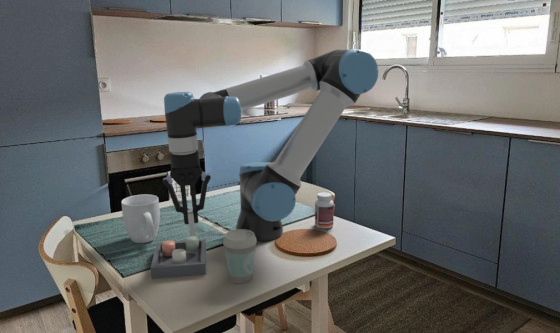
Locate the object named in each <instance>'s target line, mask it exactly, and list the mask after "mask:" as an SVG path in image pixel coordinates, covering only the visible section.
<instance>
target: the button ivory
mask: <svg viewBox="0 0 560 333" xmlns="http://www.w3.org/2000/svg"><path fill="white" fill-rule="evenodd" d="M172 259H173V264H182V263H186V251H185V250H184V249H176V250H174V251H172Z"/></svg>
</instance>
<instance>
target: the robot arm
mask: <svg viewBox="0 0 560 333" xmlns="http://www.w3.org/2000/svg"><path fill="white" fill-rule="evenodd" d="M376 60H377V59H375V58H374V56H373V55H372V54H371V53H369V52H368V51H366V50H364V49H360V48H352V49H335V50H332V51H328V52H326V53H323V54H321V55H318V56H316V57H313V58H310V59H307V60H305V61H304V62H303V64H302V65H299V66H297V67H292V68H289V69H287V70H283V71H279V72H276V73H273V74H270V75H266V76H263V77H260V78H257V79H253V80H250V81H245V82H243V83H239V84H237V85H233V86H230V87H226V88H224V89H219V90H216V91H208V92H206V93H203V94H202V95H201V96H200V97H199V98H195V97H194V94H193V93H192V92H190V91H177V92H170V93H169V92H168V93H167V94H165V96H164V97H163V102H164V103H163V104H164V117H165V125H166V126H165V127H166V132H167V142H168V151H169V152H170V153H169V158H170V160H169V161H170V168H171V169H170V172H169V175H168V176H166V177H163V178H162V184H163V185H164V186H165V187H166V189H167V190H168V191H167V192H168V193H169V197H170V199H171V201H172V204H173V206H174V209H175V212H176V213H181V214H183V222H184V225H188V229H189V237H190V236H196V227H195V226H196V224H198V223H199V214H198V213H199V211H202V210H204V208H205V201H206V196H207V190H208V184H209V182H210V181H211V178H212V177H211V174H210V173H206V172H205V171H203V169H202V167H201V163H200V153H199V151H198V149H199V143H198V142H199V141H198V133H197V129H199V128H201V129H202V128H210V127H211V128H212V127H222V126H232V125H233V126H234V125H238V124H239V123H240V122H241V120H242V111H245V110H247V109H251V108H254V107H258V106H261V105H263V104H267V103H270V102H273V101H278V100H280V99H284V98H287V97H290V96H293V95H296V94H300V93H302V92H303V93H304V92H306V91H312V92H317V91H319V92H318V94H317V96H316V97H315V98H314V100H313V102H312V103H311V105H310V106H309V108H308V109H307V111H306V113H305V114H304V115H303V117H302V119H301V120H300V122H299V124H298V125H297V127H296V128H295V130H293V132H292V134H291V136H290V138H288V141H287V142H286V143H285V145H284V146H283V148H282V150H281V151H280V153H279V155H278V156H277V157H276V159H275V161H272V162H269V161H263V162H262V161H258V162H257V161H256V162H247V163H243V164H241V165H240V167H239V173H238V176H239V193H240V195H239V196H240V199H239V200H240V212H239V215H238V219H237V221H236V225H235V230H236V229H246V230H250V231H252V232H254V234H255V237H256V240H257V242H266V241H272V240H275V239H278V238H279V237H281V236H282V235H283V234H284V230H283V229H284V225H283V222H282V220H283V219H286V218H287V217H289V216H291V214H292V212H293V211H294V209H295V206H296V203H297V201H296V200H297V199H296V194H297V193H298V192H299V190H300V189H301V187H302V182H301V177H302V175H303V174H304V173H305V171H306V169H307V168H308V166H309V165H310V163H311V162H312V160H313V159H314V157H315V156H316V154H317V153H318V152H319V149H320V148H321V146H322V145H323V143H324V141H325V140H326V139H327V137H328V136H329V134H330V133H331V131H332V130H333V128H334V127H335V125H336V123H337V122H338V120H339V119H340V117H341V116H342V115H343V112H344V111H345V110H346V108H347V107H351V106H355V104H356V103H357V101H358V100H359V98H360V97H361V95H362V94H363V95H364V94H365V93H368V92H370V91H371V90H372V89H373V88H374V87H375V85H376V83H377V81H378V78H379V69H378V68H379V67H378V63H377V61H376ZM200 178H201V181H202V184H201V191H200V196H199V203H197V194H196V184H197V182H198V181H199V179H200ZM173 181H174V182H175V183H176V184H177V185H178V186H180V195H181V203H180V202H179V199H178V196H177V193H176V191H175V189H174V186H173ZM186 186H189V187H190V198H191V206H192V207H191V208H192V210H191V209H190V210H189V209H188V200H187V191H186ZM181 205H182V206H181ZM280 235H281V236H280ZM196 237H197V236H196Z"/></svg>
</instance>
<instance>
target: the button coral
mask: <svg viewBox="0 0 560 333" xmlns="http://www.w3.org/2000/svg"><path fill="white" fill-rule="evenodd" d="M174 250H175V242H174V240H164V241H163V243H162V255H163V256H167V257H168V256H172V251H174Z"/></svg>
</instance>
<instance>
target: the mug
mask: <svg viewBox="0 0 560 333" xmlns="http://www.w3.org/2000/svg"><path fill="white" fill-rule="evenodd" d="M120 202H121V211H122V213H121V214H122V219H123V225H124V228H125V229H124V230H125V231H126V233H127V235H128V237H129V239H130V240H131V241H132V242H134V243H136V244H145V243H149V242H153V240H155V239H156V236H157V234H158V233H159V227H160V222H161V217H160V216H161V213H160V212H161V210H160V209H161V208H160V201H159V197H158V196H157V195H154V194H147V193H145V194H137V195H130V196H127V197H125V198H123V199H122V200H121V201H120Z"/></svg>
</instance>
